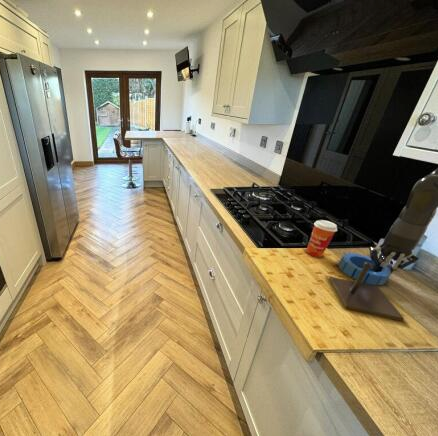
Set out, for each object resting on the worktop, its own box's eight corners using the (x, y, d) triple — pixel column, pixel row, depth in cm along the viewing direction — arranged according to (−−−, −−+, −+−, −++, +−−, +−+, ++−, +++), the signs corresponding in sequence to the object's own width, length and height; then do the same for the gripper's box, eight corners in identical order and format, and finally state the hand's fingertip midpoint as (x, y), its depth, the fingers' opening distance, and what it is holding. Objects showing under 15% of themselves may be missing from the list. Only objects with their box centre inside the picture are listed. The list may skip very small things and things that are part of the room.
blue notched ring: (373, 265, 92) (377, 257, 90) (394, 289, 80) (400, 280, 78) (332, 258, 95) (336, 250, 93) (347, 279, 83) (352, 270, 81)
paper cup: (299, 249, 100) (310, 220, 94) (312, 247, 102) (324, 218, 96) (315, 260, 93) (329, 229, 87) (329, 257, 96) (343, 227, 89)
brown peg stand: (376, 288, 80) (395, 256, 74) (402, 321, 68) (428, 286, 62) (328, 279, 83) (344, 247, 77) (345, 308, 71) (364, 273, 65)
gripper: (386, 234, 76) (362, 276, 84) (440, 242, 73) (410, 285, 81) (374, 224, 83) (353, 264, 91) (423, 231, 79) (397, 272, 87)
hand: (380, 274), depth 86 cm, fingers closed on blue notched ring, 2 cm apart
